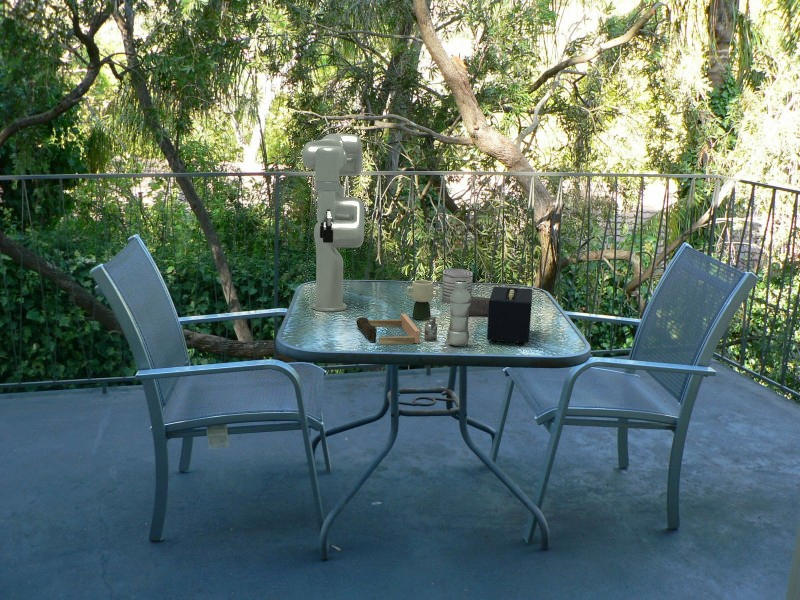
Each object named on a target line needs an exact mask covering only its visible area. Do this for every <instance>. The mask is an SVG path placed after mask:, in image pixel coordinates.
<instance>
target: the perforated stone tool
mask: <svg viewBox="0 0 800 600" xmlns="http://www.w3.org/2000/svg"><path fill="white" fill-rule="evenodd" d="M489 299H490V297H484V296H473V295H472V296H471V304H470V309H469V316H470V317H471V316H473V317H488V310H489Z"/></svg>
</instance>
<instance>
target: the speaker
mask: <svg viewBox="0 0 800 600" xmlns="http://www.w3.org/2000/svg"><path fill="white" fill-rule="evenodd" d="M533 293H534V292H533V289H532V288H522V287H521V288H520V287H506V286H494V287H492V290H491V294H490V297H489V298H490V299H489V310H488V316H487V327H486V328H487V329H486V340H487V341H491V343H493V344H497V343H498V342H506V343H507V342H509V343H518V345H519V346H524V345H525V344H528V343H529V342H530V332H531V331H530V330H531V322H532V321H531V318H532V317H531V316H532V305H533V304H532V302H533Z"/></svg>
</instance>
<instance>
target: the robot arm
mask: <svg viewBox="0 0 800 600" xmlns="http://www.w3.org/2000/svg"><path fill="white" fill-rule="evenodd" d="M363 151H364V150H363V144H362V140H361V138H360V137H359V135H357V134H353V133H352V134H351V133H328V134H327V135H325V136H323V137H322V139H318V140H312V141H309V142H306V143H305V145H304V146H303V149H302V155H301V160H302V164H303V166H304V167H305V168H306V169H309V170H314V172H315V173H314V174H315V175H314V177H315V178H314V180H315V183H314V184H315V185H314V190H315V192H317V201H316V202H317V207H316V220H317V223H315V225H314V228H313V234H314V235H313V236H314V243H315V255H316V257H315V258H316V261H315V262H316V263H315V264H316V267H315V268H316V269H315V274H316V275H315V278H316V280H315V282H316V283H315V302H313V303H312V304H311V309H312V310H315V311H320V312H341V311H344V310H346V309H347V308H348V305H347V304H346V303H345V302H343V296H344V295H343V293H344V292H343V290H344V289H343V287H344V286H343V285H344V260H343V257H342V255H341V253H340V252H339V250H337V248H339V249H340V248H350V249H351V248H353V249H355V248H360V247H361V246H362V245H363V243H364V239H365V205H364V202H363V201H362V199H360V198H359V197H353V196H352V197H351V196H350V197H349V196H345V188H344V187H343V185H342V183H341V182H340V176H341V177H343V176H344V177H356V176H359V175H360V174H361V173H362V171H363V166H364V165H363V164H364V163H363V162H364V161H363V159H364V157H363Z"/></svg>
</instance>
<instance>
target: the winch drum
mask: <svg viewBox="0 0 800 600" xmlns="http://www.w3.org/2000/svg"><path fill="white" fill-rule="evenodd" d="M436 319H437V316H432V319H431V320H428V322H425V323H424V332H423V333H424V334H423V335H424V337H423V340H424V341H426V342H436V341H438V328H439V327H438V326H439V324H438V323H436V322H437V321H436Z"/></svg>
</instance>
